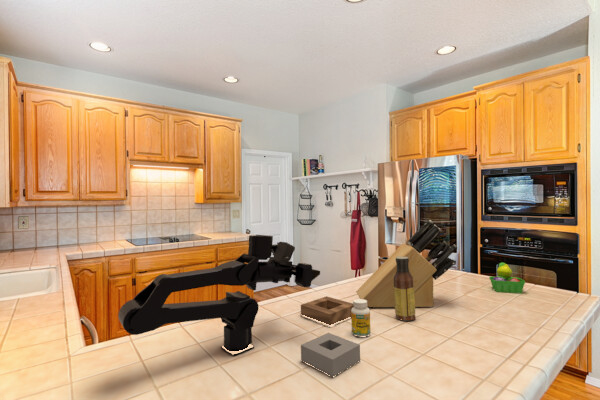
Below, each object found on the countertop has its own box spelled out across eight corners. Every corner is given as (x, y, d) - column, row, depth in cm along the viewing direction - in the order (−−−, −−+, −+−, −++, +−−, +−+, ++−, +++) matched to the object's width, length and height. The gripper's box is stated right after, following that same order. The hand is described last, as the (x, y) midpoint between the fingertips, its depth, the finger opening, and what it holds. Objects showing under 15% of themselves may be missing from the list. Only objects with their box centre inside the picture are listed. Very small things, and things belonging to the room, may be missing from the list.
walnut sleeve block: (330, 327, 95) (330, 314, 95) (300, 316, 105) (300, 304, 105) (355, 316, 104) (355, 304, 104) (326, 307, 114) (326, 296, 114)
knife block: (460, 308, 110) (459, 220, 111) (361, 309, 111) (359, 222, 112) (446, 298, 122) (444, 219, 122) (356, 299, 122) (354, 220, 123)
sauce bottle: (412, 315, 105) (411, 255, 105) (417, 322, 98) (416, 259, 99) (392, 314, 105) (391, 255, 105) (396, 321, 99) (395, 258, 99)
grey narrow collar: (332, 378, 68) (332, 359, 68) (301, 361, 75) (300, 344, 75) (360, 361, 75) (359, 344, 75) (328, 347, 82) (328, 332, 82)
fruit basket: (494, 292, 128) (493, 265, 128) (488, 287, 137) (487, 261, 137) (526, 294, 125) (525, 266, 125) (518, 288, 133) (517, 262, 134)
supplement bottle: (366, 329, 93) (366, 297, 93) (373, 337, 88) (372, 303, 88) (349, 331, 92) (348, 298, 93) (354, 338, 87) (354, 304, 87)
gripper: (290, 246, 82) (332, 247, 92) (254, 240, 97) (294, 242, 107) (286, 289, 81) (329, 285, 91) (251, 276, 96) (291, 275, 106)
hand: (309, 270), depth 99 cm, fingers open, 9 cm apart
